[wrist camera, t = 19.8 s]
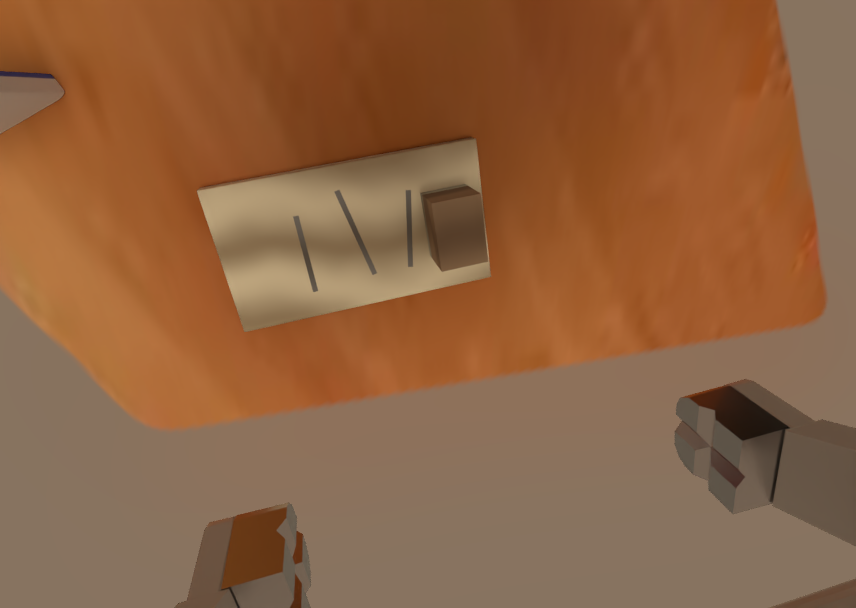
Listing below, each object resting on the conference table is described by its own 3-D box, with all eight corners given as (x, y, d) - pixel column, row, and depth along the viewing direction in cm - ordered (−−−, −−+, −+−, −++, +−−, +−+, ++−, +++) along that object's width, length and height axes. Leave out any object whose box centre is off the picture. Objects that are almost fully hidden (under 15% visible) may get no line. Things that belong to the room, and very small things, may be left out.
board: (200, 187, 36) (196, 190, 35) (471, 137, 39) (476, 138, 37) (246, 325, 41) (244, 331, 39) (486, 272, 43) (490, 276, 42)
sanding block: (420, 192, 38) (431, 203, 35) (464, 183, 39) (480, 193, 35) (430, 255, 40) (441, 271, 37) (472, 246, 41) (488, 261, 37)
